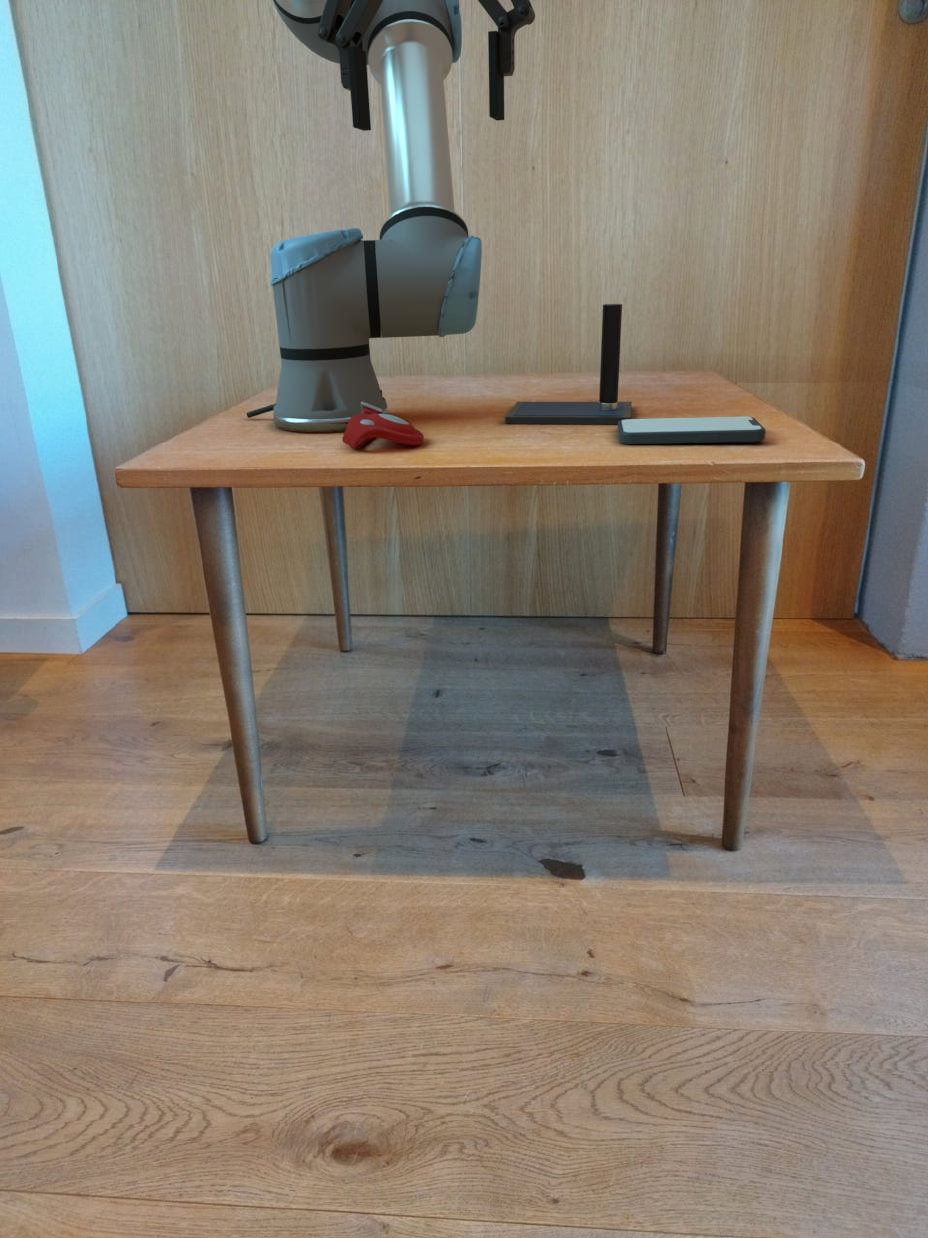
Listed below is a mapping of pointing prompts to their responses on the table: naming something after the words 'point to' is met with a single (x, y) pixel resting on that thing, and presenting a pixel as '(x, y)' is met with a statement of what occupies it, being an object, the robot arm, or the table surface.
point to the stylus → (610, 356)
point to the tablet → (565, 413)
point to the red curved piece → (379, 428)
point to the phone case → (690, 430)
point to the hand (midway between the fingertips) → (428, 124)
